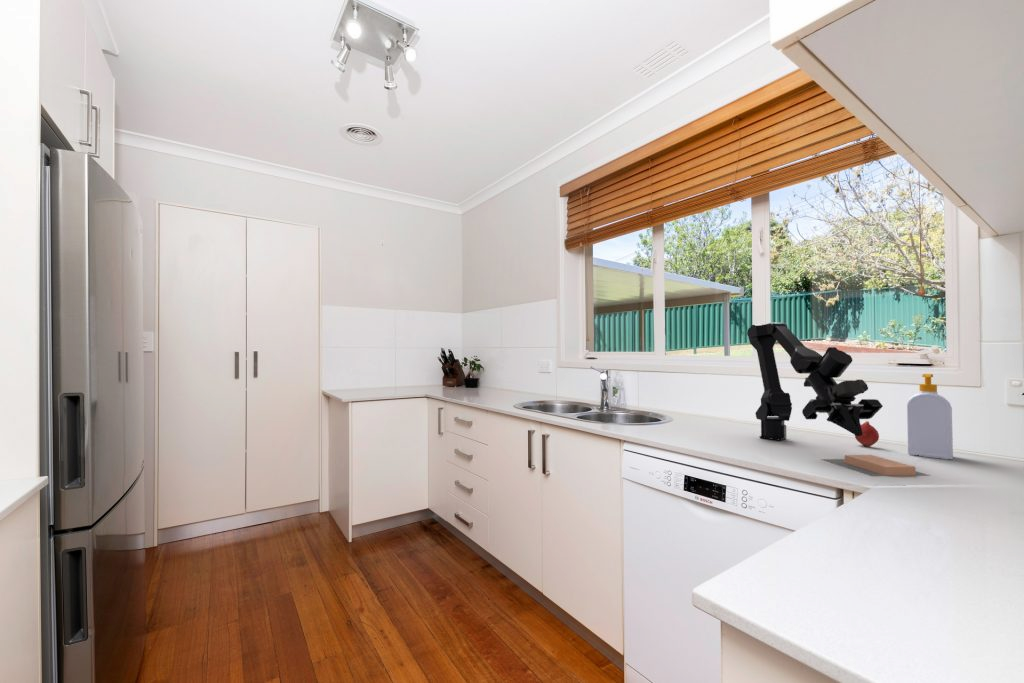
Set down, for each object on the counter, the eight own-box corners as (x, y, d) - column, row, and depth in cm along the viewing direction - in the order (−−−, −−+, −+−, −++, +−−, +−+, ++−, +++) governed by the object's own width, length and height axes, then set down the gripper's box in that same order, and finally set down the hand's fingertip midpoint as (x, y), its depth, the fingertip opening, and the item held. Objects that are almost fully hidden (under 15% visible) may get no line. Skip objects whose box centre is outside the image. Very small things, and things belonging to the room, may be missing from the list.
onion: (851, 446, 135) (850, 420, 135) (860, 444, 138) (860, 419, 138) (873, 450, 130) (873, 423, 130) (883, 448, 133) (882, 421, 133)
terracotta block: (844, 454, 113) (886, 466, 101) (870, 454, 114) (915, 466, 102) (844, 462, 113) (886, 475, 101) (870, 462, 114) (915, 475, 102)
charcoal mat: (820, 460, 117) (820, 459, 117) (870, 460, 118) (870, 458, 118) (872, 477, 101) (872, 475, 101) (930, 477, 102) (930, 475, 102)
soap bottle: (908, 455, 123) (906, 373, 124) (908, 451, 129) (906, 373, 129) (953, 460, 117) (951, 374, 118) (951, 456, 123) (949, 374, 123)
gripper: (808, 369, 118) (842, 416, 107) (875, 369, 119) (916, 416, 107) (789, 395, 126) (818, 442, 114) (852, 395, 126) (887, 442, 115)
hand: (860, 435), depth 113 cm, fingers closed
